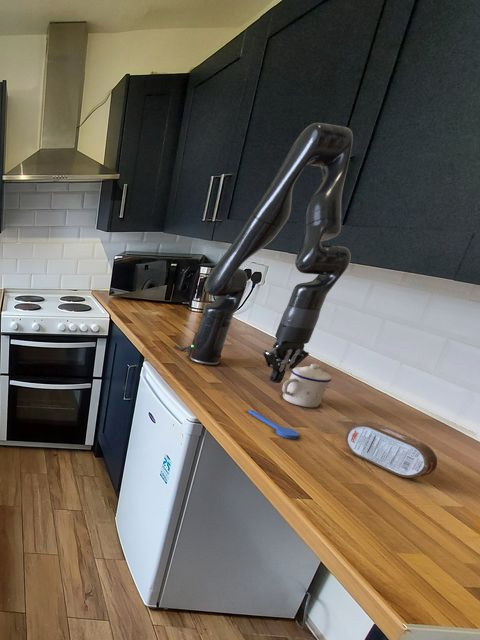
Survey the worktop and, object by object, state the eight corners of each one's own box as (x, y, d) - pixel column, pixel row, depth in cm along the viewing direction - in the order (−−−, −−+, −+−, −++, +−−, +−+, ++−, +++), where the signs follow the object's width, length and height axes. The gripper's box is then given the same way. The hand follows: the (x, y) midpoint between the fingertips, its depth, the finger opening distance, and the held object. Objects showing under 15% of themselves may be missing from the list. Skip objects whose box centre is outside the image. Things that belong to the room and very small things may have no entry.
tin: (426, 484, 83) (447, 450, 79) (416, 487, 82) (437, 452, 79) (345, 445, 96) (361, 414, 92) (336, 447, 95) (351, 416, 92)
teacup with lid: (300, 394, 123) (314, 358, 118) (327, 408, 115) (345, 370, 110) (265, 395, 121) (278, 359, 117) (290, 409, 113) (306, 371, 108)
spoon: (242, 412, 110) (243, 409, 110) (256, 412, 111) (257, 408, 110) (286, 439, 97) (287, 436, 97) (301, 438, 98) (303, 435, 98)
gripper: (305, 319, 112) (283, 376, 119) (264, 319, 110) (244, 377, 117) (331, 327, 105) (306, 386, 112) (289, 327, 103) (265, 388, 110)
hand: (274, 382), depth 115 cm, fingers closed
